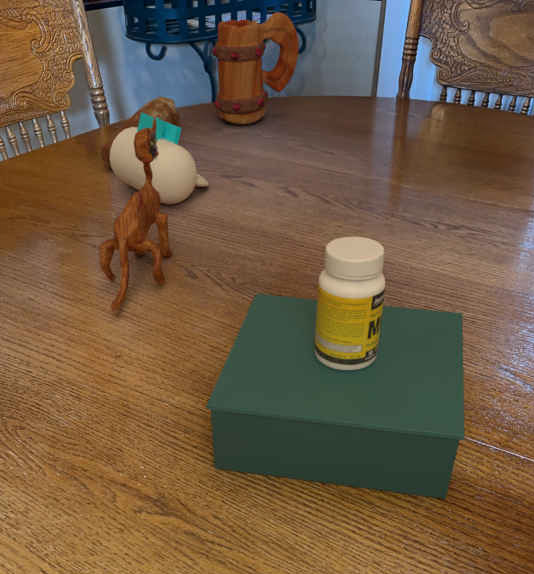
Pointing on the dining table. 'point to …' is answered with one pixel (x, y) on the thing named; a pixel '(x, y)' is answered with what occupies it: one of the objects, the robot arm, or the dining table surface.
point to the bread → (154, 108)
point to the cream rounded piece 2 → (157, 162)
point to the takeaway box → (342, 401)
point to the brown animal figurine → (138, 222)
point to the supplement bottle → (350, 303)
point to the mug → (252, 65)
